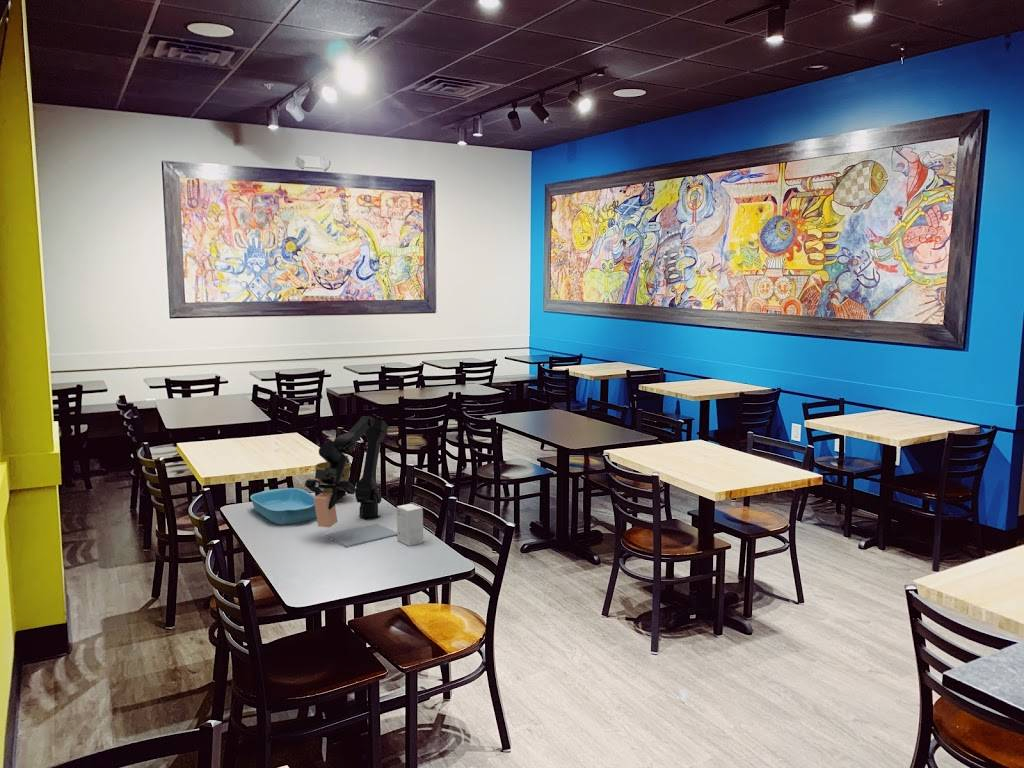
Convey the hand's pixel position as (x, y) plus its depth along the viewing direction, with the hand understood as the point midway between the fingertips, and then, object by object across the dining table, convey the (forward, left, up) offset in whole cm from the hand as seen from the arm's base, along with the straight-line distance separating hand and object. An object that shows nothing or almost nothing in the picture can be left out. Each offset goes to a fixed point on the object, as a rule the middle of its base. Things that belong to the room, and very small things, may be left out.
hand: (323, 508), depth 280 cm
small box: (-25, +19, -13) cm, 34 cm away
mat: (-15, +2, -13) cm, 19 cm away
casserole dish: (-5, -42, -13) cm, 44 cm away
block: (-2, -1, -6) cm, 7 cm away
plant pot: (-29, -47, -13) cm, 57 cm away
